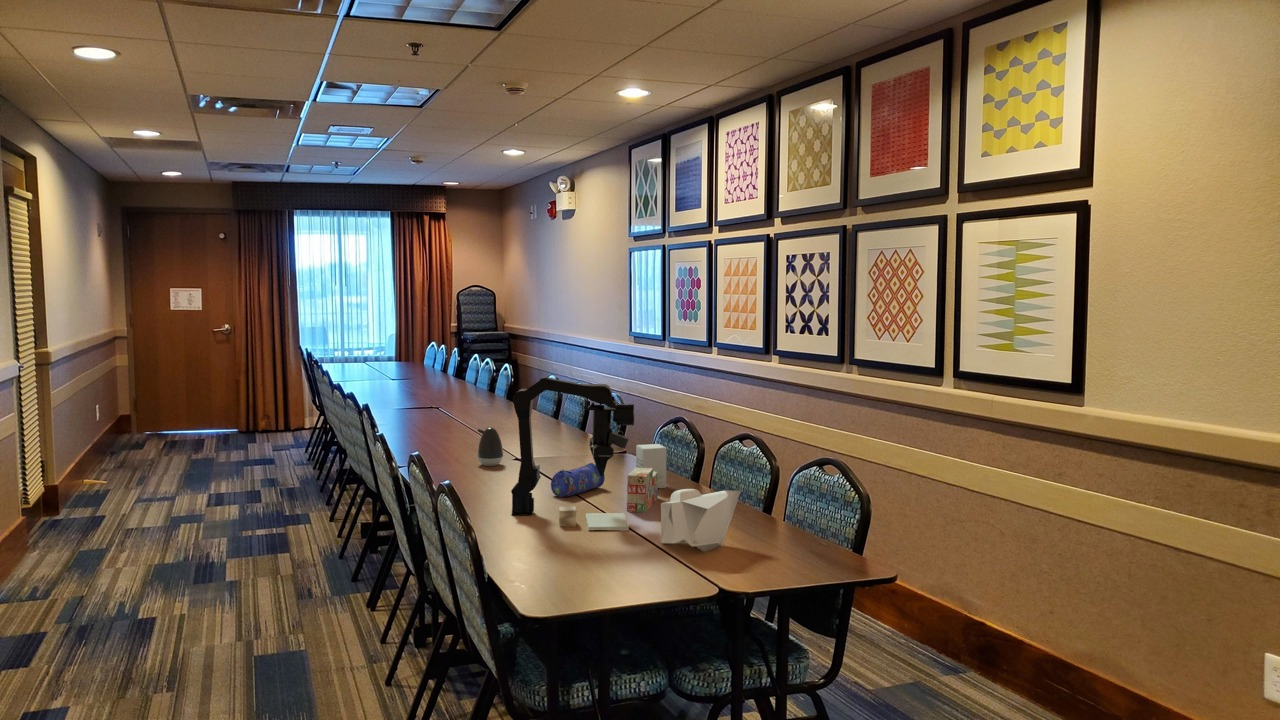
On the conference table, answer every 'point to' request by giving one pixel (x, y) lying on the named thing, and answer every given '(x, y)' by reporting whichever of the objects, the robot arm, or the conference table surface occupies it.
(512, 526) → the conference table surface
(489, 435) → the grey egg-shaped body
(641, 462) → the supplement box
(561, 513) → the beige cube
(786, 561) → the conference table surface
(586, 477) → the pencil case
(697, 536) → the folded paper
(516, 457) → the conference table surface
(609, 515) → the sage board
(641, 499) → the stack of blocks
